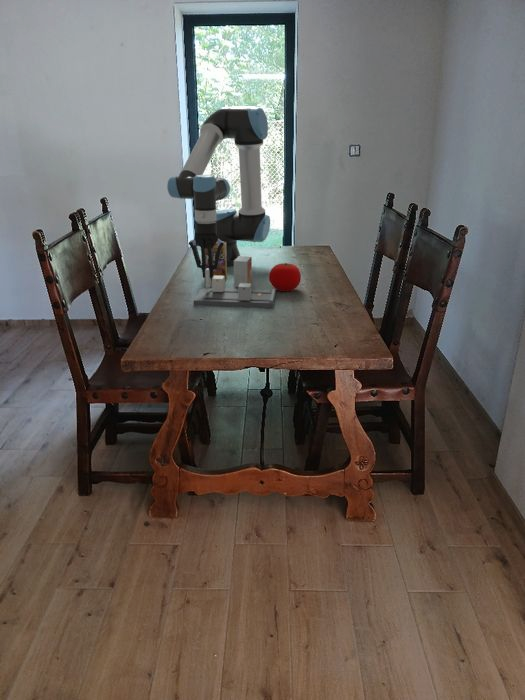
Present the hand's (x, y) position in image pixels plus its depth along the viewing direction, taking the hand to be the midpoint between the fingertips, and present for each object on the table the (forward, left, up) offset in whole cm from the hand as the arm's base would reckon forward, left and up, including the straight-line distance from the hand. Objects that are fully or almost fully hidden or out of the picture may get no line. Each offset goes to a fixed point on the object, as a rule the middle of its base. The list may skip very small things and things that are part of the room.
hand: (208, 286), depth 192 cm
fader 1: (0, +4, -1) cm, 4 cm away
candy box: (-22, -1, -4) cm, 22 cm away
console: (+4, +11, -4) cm, 12 cm away
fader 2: (+9, +15, -1) cm, 17 cm away
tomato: (-11, +28, -4) cm, 30 cm away
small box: (-16, +11, -4) cm, 20 cm away
